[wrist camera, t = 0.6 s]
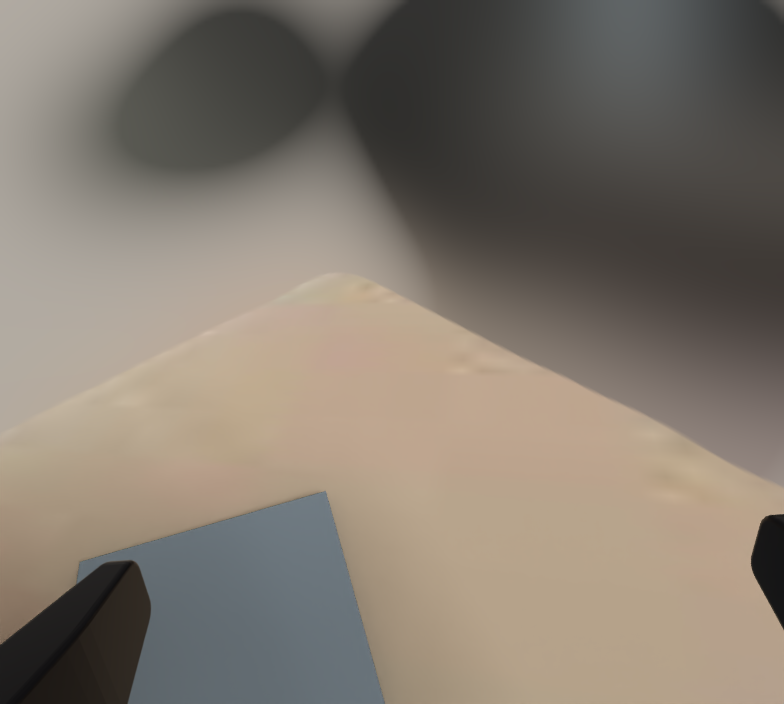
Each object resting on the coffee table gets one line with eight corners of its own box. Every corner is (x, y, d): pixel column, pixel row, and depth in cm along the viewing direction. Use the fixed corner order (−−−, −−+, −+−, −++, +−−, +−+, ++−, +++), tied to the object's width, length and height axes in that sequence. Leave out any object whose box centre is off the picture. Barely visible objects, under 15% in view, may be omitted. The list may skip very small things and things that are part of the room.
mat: (398, 756, 19) (397, 750, 19) (34, 905, 17) (25, 902, 16) (327, 498, 28) (325, 491, 28) (84, 568, 26) (79, 561, 26)
